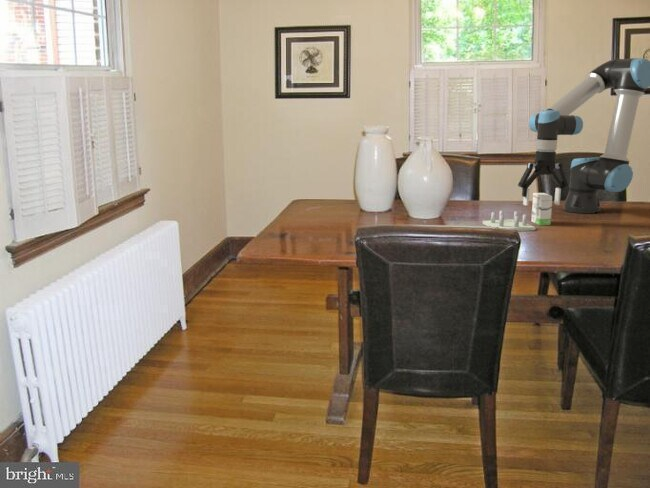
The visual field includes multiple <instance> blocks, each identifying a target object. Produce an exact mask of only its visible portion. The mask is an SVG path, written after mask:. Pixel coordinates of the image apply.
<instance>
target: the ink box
mask: <svg viewBox="0 0 650 488" xmlns="http://www.w3.org/2000/svg"><path fill="white" fill-rule="evenodd" d="M531 205H532V208H531V219H530V220H531V221H530V222H531V223H533V224H536V225H538V226H551V225H552V210H553V208H552V207H553V195H551V194H547V193H546V192H533V193H532V204H531Z"/></svg>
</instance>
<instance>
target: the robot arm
mask: <svg viewBox="0 0 650 488" xmlns="http://www.w3.org/2000/svg"><path fill="white" fill-rule="evenodd" d="M613 88H614V89H613ZM648 88H650V60H649V59H647V58H639V57H634V58H633V57H632V58H631V57H630V58H613V59H611V60H608V61H606V62H604V63H602V64H600V65H598V66H597V67H596V68H594V69H592V70H591V71H590V72H588V73H587V74H586V76H585V79H584V80H583V81H581V82H579V84H578V85H575V87H573V88H572V89H571V90H570V91H568V92H567V93H566V94H565V95H564V96H562V97H561V98H560V99H558V100H557V101H556V102H555V103H553V104H552V105H550V106H549V107H548V108H547V109H545V110H544V109H543V110H540V111H539V113H534V114H532V115H531V116H530V117H529V120H528V127H529V129H530V130H531V131H532V132H533V133H536V134H537V135H536V136H537V137H536V145H535V146H536V147H535V148H536V151H535V157H534V158H535V159H534V160H535V161H534V163H531V162H528V163H527V165H526V169H525V171H524V172H523V174H522V176H521V178H520V180H519V182H518V184H517V186H518V187H519V188H521V189H522V192H521V193H522V194H521V196H522V197H523V200H522V205H523V206H529V200H530V188H529V187H530V186H531V185H532V184H533V182H534V181H535V180H536V179H537V178H538V177H539V176H540V175H541V176H545V175H546V176H550V178H551V179H552V180H553V182H554V183H555V185H556V186H557V187H555V189H554V190H555V192H554V205H557V206H560V204H561V203H560V202H561V197H562V196H563V191H564V189H565V188H567V187H568V194H567V196H566V198H565V201H564V203H563V207H562V208H563V211H565V212H570V213H576V214H596V213H595V212H598V213H600V212H601V203H600V200H599V195H598V190H600V191H606V192H611V193H613V192H614V193H619V192H620V193H621V192H623V191H625V190H626V189H627V188H628V187H629V186H630V184H631V183H632V180H633V176H634V175H633V174H634V172H633V168H632V166H631V165H630V160H629V158H628V157H627V155H628V151H629V146H630V141H631V137H632V132H633V128H634V123H635V119H636V115H637V110H638V106H639V101H640V98H641V97H642V96H644V95H645V93H646V89H648ZM608 89H613V91H614V93H615V94H616V98H615V102H614V107H613V112H612V115H611V116H612V118H611V122H610V125H609V130H608V135H607V140H606V144H605V149H604V153H602V155H599V157H597V156H596V157H579V158H574V159H572V161H571V164H570V170H569V171H570V173H569V183H568V181H567V178H566V175H565V172H564V170H563V163H561V162H555V161H556V157H557V152H556V150H557V147H558V146H557V145H558V136H574V135H578V134H580V133H581V132H582V130H583V128H584V121H583V119H582V117H581V116H579V115H574V114H572V113H573V112H575V111H576V110H577V109H579V108H580V107H582V105H584V104H585V103H586V102H588V101H589V100H590V99H592V98H593V97H594V96H595V95H596V94H601V93H603V92H604V91H605V90H608ZM555 169H556V172H557V174H558V175H557V174H556V172H555V171H554V170H555ZM533 170H534V171H533ZM599 211H600V212H599Z"/></svg>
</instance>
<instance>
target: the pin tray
mask: <svg viewBox="0 0 650 488" xmlns="http://www.w3.org/2000/svg"><path fill="white" fill-rule="evenodd" d="M496 213H497V212H496V211H494V212H493V211H492V212H491V216H490V217H491V218H490V220H482V225H485V226H487V227H489V226H491V227H499V228H506V229H514V230H517V231H516V232H527V231H528V232H531V231H536V226H533V225H531V224H528V214H522V220H521V221H520V216H519V211H515V210H514V211H513V218H512V219H505V215H504V213H505V212H504V210H499V213H498V215H499V216H498V219H496V216H497V214H496ZM491 227H490V228H491Z"/></svg>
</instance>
